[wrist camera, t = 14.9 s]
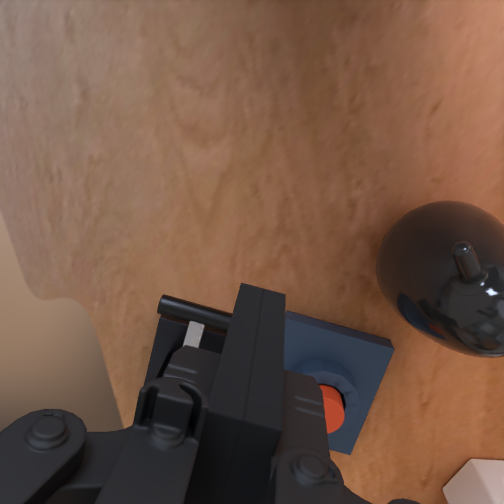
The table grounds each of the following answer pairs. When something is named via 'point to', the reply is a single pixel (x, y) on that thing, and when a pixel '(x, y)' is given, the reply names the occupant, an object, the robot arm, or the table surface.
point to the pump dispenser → (447, 276)
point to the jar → (477, 483)
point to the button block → (338, 367)
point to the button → (332, 408)
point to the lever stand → (177, 344)
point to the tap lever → (194, 317)
